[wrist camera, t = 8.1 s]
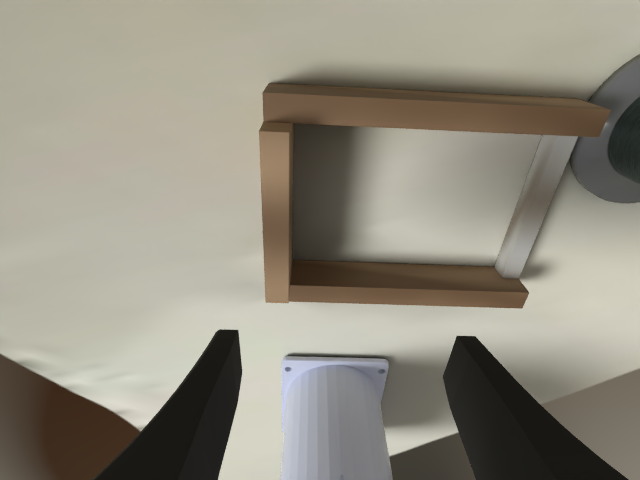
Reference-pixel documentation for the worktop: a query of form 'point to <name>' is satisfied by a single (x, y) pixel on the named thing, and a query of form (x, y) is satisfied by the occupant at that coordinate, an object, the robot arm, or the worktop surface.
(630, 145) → the tin can
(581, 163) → the coaster
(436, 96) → the frame
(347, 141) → the worktop surface
